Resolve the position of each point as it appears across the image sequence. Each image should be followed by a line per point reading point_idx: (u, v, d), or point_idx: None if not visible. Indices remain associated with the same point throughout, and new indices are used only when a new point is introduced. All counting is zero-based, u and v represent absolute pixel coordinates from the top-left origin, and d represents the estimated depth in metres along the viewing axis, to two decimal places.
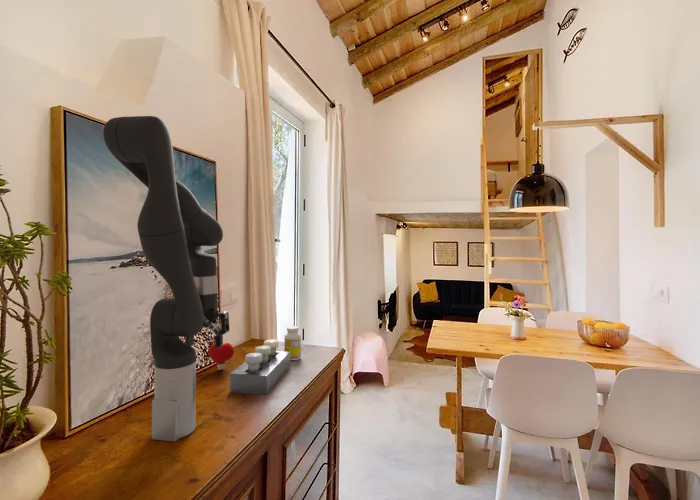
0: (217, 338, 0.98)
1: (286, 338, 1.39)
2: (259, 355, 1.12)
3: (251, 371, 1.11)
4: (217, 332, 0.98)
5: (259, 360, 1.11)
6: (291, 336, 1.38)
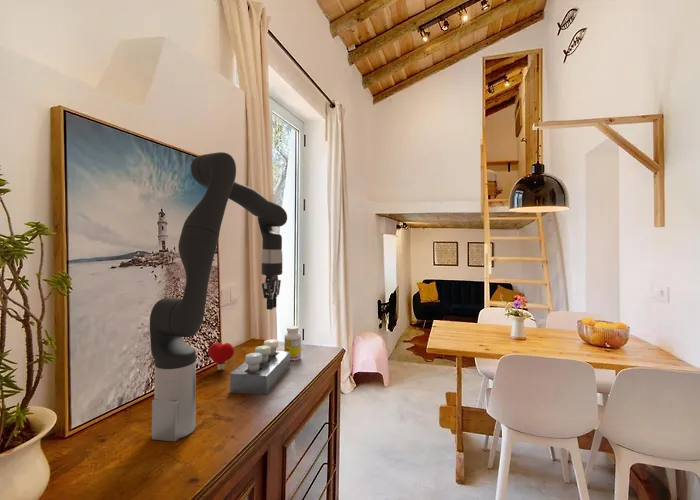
0: None
1: (286, 338, 1.39)
2: (259, 355, 1.12)
3: (251, 371, 1.11)
4: (276, 294, 1.30)
5: (259, 360, 1.11)
6: (291, 336, 1.38)
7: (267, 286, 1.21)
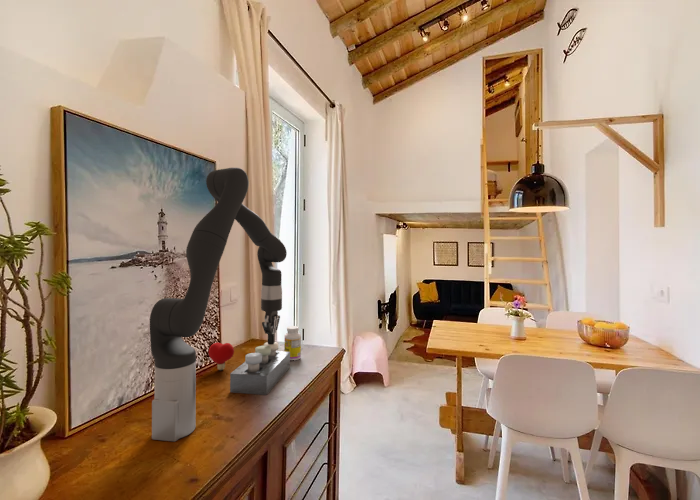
0: None
1: (286, 338, 1.39)
2: (259, 355, 1.12)
3: (251, 371, 1.11)
4: (275, 330, 1.29)
5: (259, 360, 1.11)
6: (291, 336, 1.38)
7: (267, 325, 1.22)
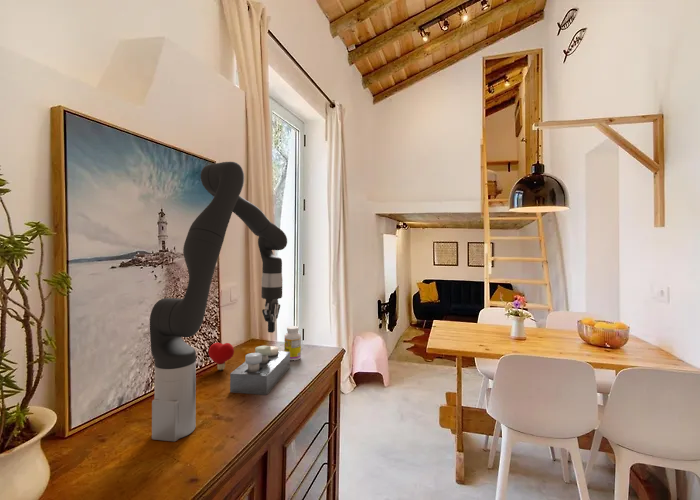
0: None
1: (286, 338, 1.39)
2: (259, 355, 1.12)
3: (251, 371, 1.11)
4: (275, 318, 1.28)
5: (259, 360, 1.11)
6: (291, 336, 1.38)
7: (267, 312, 1.22)
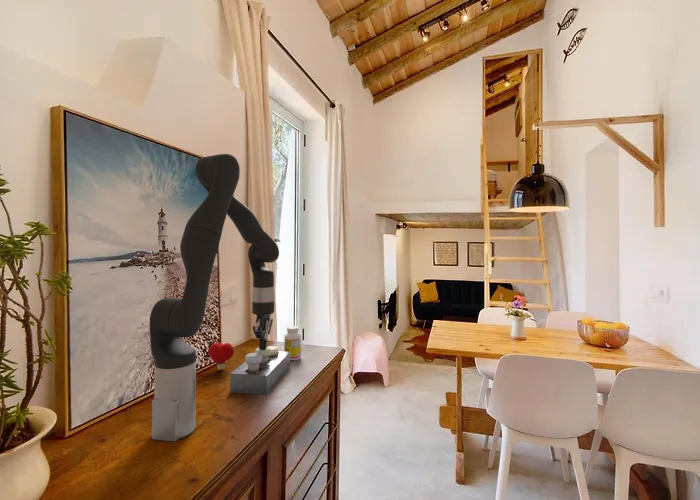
0: None
1: (286, 338, 1.39)
2: (259, 355, 1.12)
3: (251, 371, 1.11)
4: (267, 334, 1.21)
5: (259, 360, 1.11)
6: (291, 336, 1.38)
7: (258, 330, 1.14)
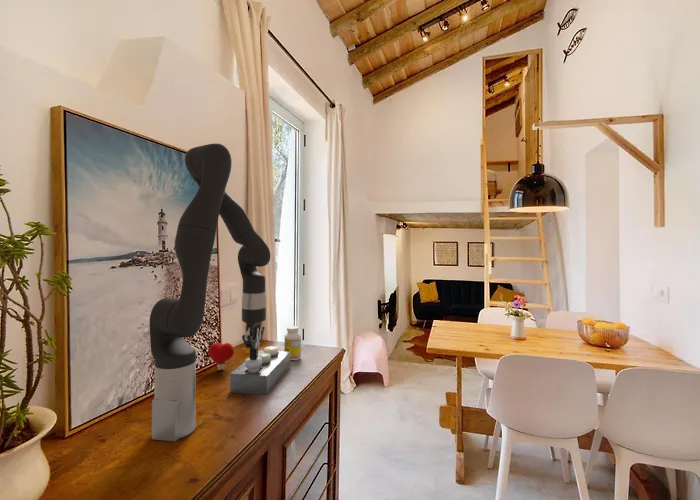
0: None
1: (286, 338, 1.39)
2: (259, 359, 1.12)
3: None
4: (258, 343, 1.13)
5: (259, 364, 1.11)
6: (291, 336, 1.38)
7: (248, 339, 1.06)
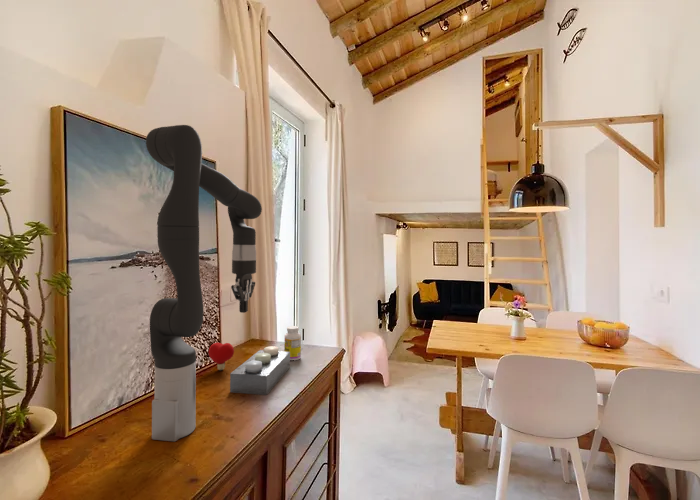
0: None
1: (286, 338, 1.39)
2: (259, 363, 1.12)
3: None
4: (248, 297, 1.13)
5: (259, 368, 1.11)
6: (291, 336, 1.38)
7: (237, 289, 1.07)
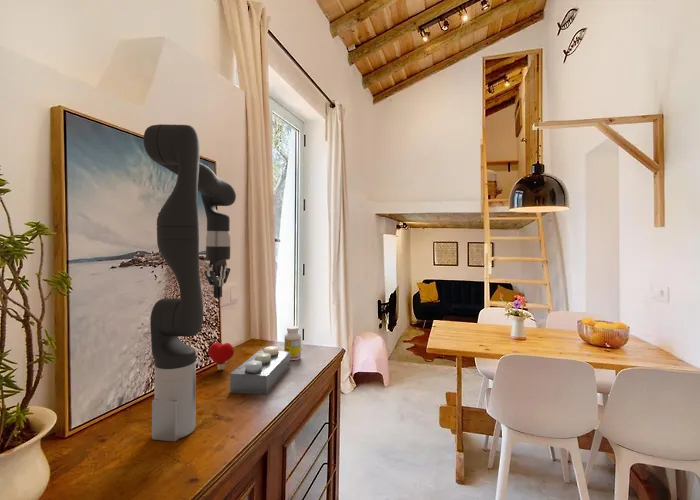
0: None
1: (286, 338, 1.39)
2: (259, 363, 1.12)
3: None
4: (222, 282, 1.15)
5: (259, 368, 1.11)
6: (291, 336, 1.38)
7: (210, 274, 1.08)
